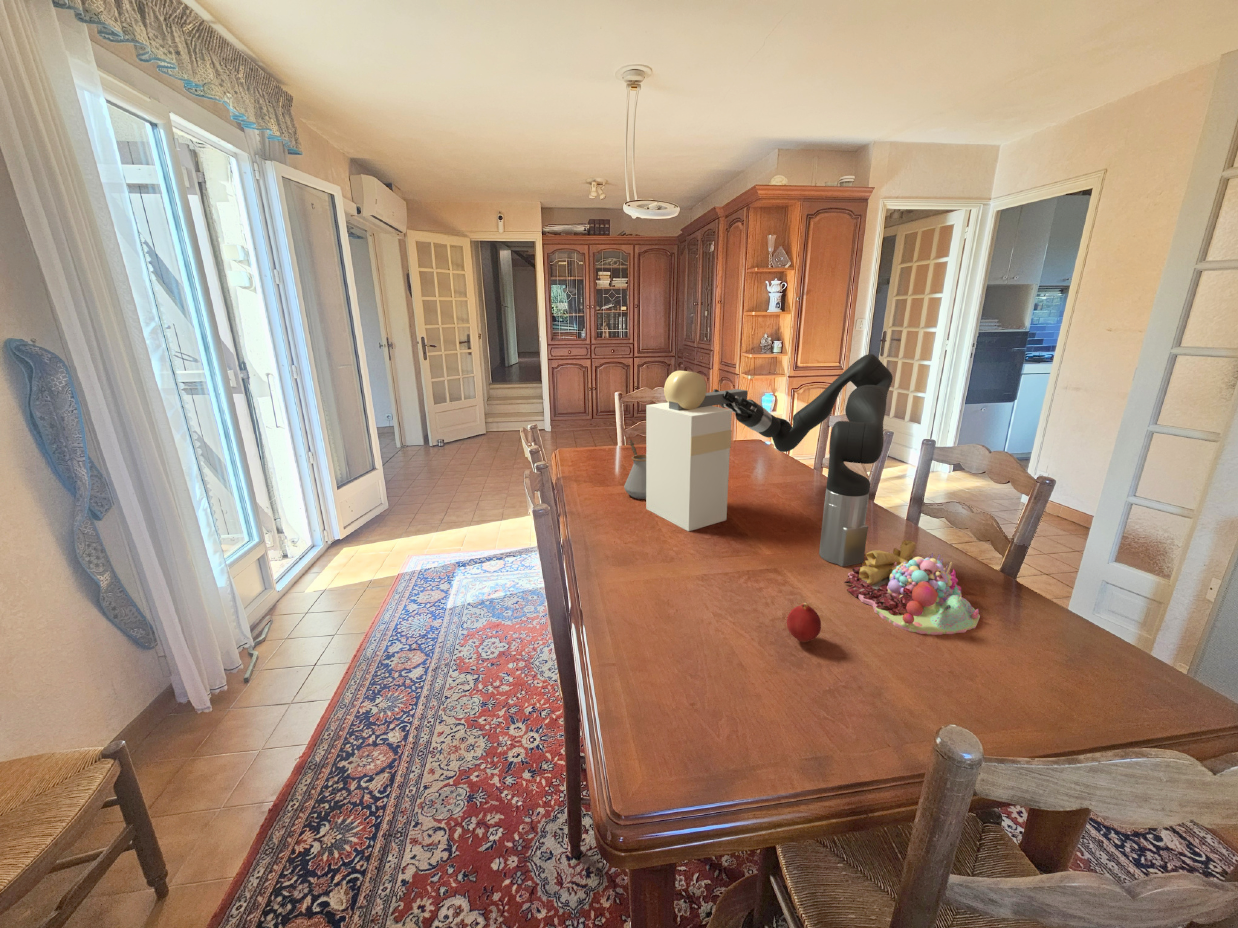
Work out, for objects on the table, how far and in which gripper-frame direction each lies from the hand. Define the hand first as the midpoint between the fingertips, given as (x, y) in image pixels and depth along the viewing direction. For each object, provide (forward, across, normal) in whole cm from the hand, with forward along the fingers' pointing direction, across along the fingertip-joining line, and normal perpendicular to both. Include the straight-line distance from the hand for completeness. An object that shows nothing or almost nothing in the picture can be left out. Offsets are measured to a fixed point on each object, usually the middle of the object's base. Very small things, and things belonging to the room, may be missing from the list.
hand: (719, 393), depth 146 cm
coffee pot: (-8, -26, +36) cm, 45 cm away
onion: (+11, +59, +47) cm, 76 cm away
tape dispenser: (+2, 0, +4) cm, 5 cm away
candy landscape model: (-16, +61, +31) cm, 71 cm away
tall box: (-7, 0, +36) cm, 37 cm away
